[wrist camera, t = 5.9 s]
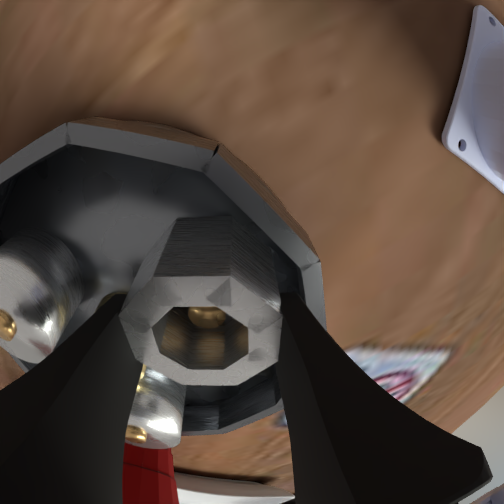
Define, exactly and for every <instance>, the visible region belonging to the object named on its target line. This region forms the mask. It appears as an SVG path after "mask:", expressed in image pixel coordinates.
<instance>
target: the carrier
mask: <svg viewBox="0 0 504 504" xmlns="http://www.w3.org/2000/svg"><path fill="white" fill-rule="evenodd" d="M218 142H219V141H215V140H211V139H207V138H203V137H200V136H197V135H195V134H193V133H191V132H188V131H185V130H181V129H178V128H175V127H171V126H168V125H164V124H159V123H152V122H144V121H135V120H130V121H122V120H116V119H110V118H104V117H97V116H95V117H90V118H85V119H80V120H75V121H70V122H66V123H64V124H62V125H60V126H59V127H57V128H55V129H53V130H52V131H50V132H48V133H46V134H45V135H43V136H41V137H40V138H38V139H37V140H35V141H33V142H32V143H30V144H29V145H27V146H26V147H24V148H23V149H21V150H20V151H18V152H17V153H15V154H14V155H12V156H11V157H9V158H8V159H7V160H5V161H4V162H3V163H1V164H0V346H1V347H2V348H4V349H5V350H6V351H8V353H9V354H10V355H11V356H12V358H13V359H14V360H15V361H16V362H17V364H18V365H19V366H20V367H21V368H22V369H23V371H24V372H25V373H27V372H28V371H29V370H31V369H32V368H33V367H35V366H36V365H37V364H38V363H40V362H41V361H42V360H43V359H45V358H46V357H47V356H48V355H49V354H50V353H52V352H53V351H54V350H55V349H56V348H57V347H58V346H59V345H60V344H62V343H63V342H64V341H65V340H66V339H67V338H68V337H69V336H71V335H72V334H73V333H74V332H75V331H76V330H77V329H78V328H79V327H80V326H81V325H82V324H83V323H84V322H85V321H86V320H88V319H89V318H90V317H91V316H92V315H93V314H94V313H95V312H96V311H97V310H98V309H99V308H100V307H101V306H102V305H103V304H105V303H106V302H107V301H108V300H109V299H110V298H111V297H113V296H114V295H115V294H128V292H129V290H130V288H131V285H132V283H133V281H134V279H135V277H136V275H137V273H138V270H139V268H140V266H141V264H142V262H143V260H144V258H145V256H146V254H147V252H148V251H149V250H150V248H151V247H152V246H153V245H154V244H155V243H156V241H157V240H158V239H159V238H160V237H161V236H162V235H163V233H164V232H165V231H166V230H167V229H168V228H169V227H170V225H171V224H172V223H173V222H174V221H175V220H176V219H177V218H178V217H204V216H233V217H234V218H236V219H237V220H238V221H239V222H240V223H241V224H242V225H244V226H245V227H246V228H247V229H248V230H249V231H250V232H252V233H253V234H254V235H255V236H256V237H257V238H258V239H260V240H261V241H262V242H263V243H264V244H265V245H266V246H268V247H269V248H270V249H271V254H272V259H273V264H274V269H275V274H276V279H277V284H278V289H279V293H286V292H297V293H298V294H299V295H300V297H301V298H302V300H303V301H304V302H305V304H306V305H307V307H308V308H309V309H310V311H311V312H312V313H313V315H314V316H315V317H316V319H317V320H318V321H319V323H320V324H321V325H322V326H323V328H324V329H325V330H326V331H327V329H326V316H325V303H324V292H323V281H322V271H321V262H320V259H319V257H318V255H317V253H316V251H315V249H314V247H313V245H312V243H311V241H310V238H309V236H308V234H307V233H306V231H305V230H304V229H303V228H302V227H301V226H300V225H299V224H298V223H297V222H296V220H295V219H294V218H293V217H292V216H291V215H290V214H289V213H288V212H287V211H286V209H285V207H284V206H283V204H282V203H281V201H280V200H279V199H278V198H277V196H276V195H275V194H274V193H273V191H272V190H271V189H270V188H269V187H268V185H267V184H266V183H265V182H264V181H263V180H262V179H261V178H260V177H259V176H258V175H257V174H256V173H254V172H253V171H252V170H251V169H250V168H249V167H248V166H247V165H246V164H245V163H243V162H242V161H241V160H239V159H238V158H236V157H235V156H234V155H233V154H232V153H231V152H230V151H229V150H228V149H227V148H226V147H225V146H224V145H223V144H222V143H221V144H219V145H218ZM188 316H189V318H190V320H191V321H192V322H193V323H194V324H195V325H197V326H199V327H202V328H215V327H218V326H220V325H221V324H222V323H223V322H224V321H225V318H226V312H224V311H223V310H221V309H220V308H218V307H217V306H212V307H189V310H188ZM282 409H284V406H283V401H282V396H281V392H280V387H279V382H278V378H277V373H276V368H275V363H274V364H272V365H271V366H269V367H268V368H266V369H264V370H263V371H261V372H259V373H258V374H256V375H254V376H252V377H251V378H249V379H247V380H246V381H244V382H242V383H240V384H238V385H227V386H214V385H182V384H180V383H178V382H176V381H174V380H172V379H170V378H168V377H166V376H164V375H162V374H161V373H159V372H157V371H155V370H153V369H151V368H150V367H148V366H146V365H144V364H143V368H142V372H141V375H140V379H139V383H138V386H137V390H136V394H135V397H134V401H133V405H132V409H131V412H130V416H129V420H128V425H127V430H126V436H125V443H128V444H131V445H134V446H139V447H143V448H150V449H167V448H172V447H175V446H177V445H178V444H179V443H180V440H181V436H191V435H212V434H224V433H227V432H230V431H233V430H235V429H238V428H240V427H243V426H245V425H248V424H250V423H253V422H255V421H258V420H260V419H262V418H264V417H267V416H269V415H271V414H273V413H276V412H278V411H280V410H282Z"/></svg>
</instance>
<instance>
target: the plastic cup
mask: <svg viewBox="0 0 504 504" xmlns="http://www.w3.org/2000/svg"><path fill="white" fill-rule="evenodd" d="M122 498H123V504H179V499H178V492H177V485H176V480H175V478H174V467H173V455H172V454H171V448H167V449H150V448H143V447H139V446H134V445H131V444H128V443H125V445H124V456H123V474H122Z"/></svg>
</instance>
